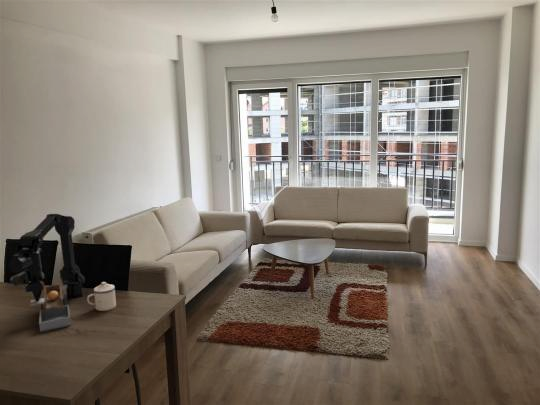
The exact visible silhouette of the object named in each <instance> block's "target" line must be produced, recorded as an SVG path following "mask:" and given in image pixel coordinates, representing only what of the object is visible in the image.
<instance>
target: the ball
mask: <svg viewBox="0 0 540 405" xmlns="http://www.w3.org/2000/svg"><path fill="white" fill-rule="evenodd" d="M48 298H49V299H50V300H55V299H57V298H58V292H56V291H51V292H49V294H48Z"/></svg>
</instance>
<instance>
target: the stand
mask: <svg viewBox="0 0 540 405" xmlns="http://www.w3.org/2000/svg"><path fill="white" fill-rule="evenodd" d="M63 296H64V303H65V305H68V297H67V293H66V294H64V295H63ZM65 305H64V306H65ZM40 306H41V308H40V309H41V310H45V306H44V303H43V304H40Z"/></svg>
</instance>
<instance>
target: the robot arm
mask: <svg viewBox="0 0 540 405" xmlns="http://www.w3.org/2000/svg"><path fill="white" fill-rule="evenodd" d="M75 222H76V221H75V219H74V217H73V216H71V215H67V216H66V215H62V214H59V213H49V214H46V217H45V218H44V219H43V220H42V221H41V222H40V223H39V224H38V225H37V226H36V227H35V228H34V229H33V230H32V231H28V232H25V233H24V234H23V235H21V237H20V238H19V240H18V242H17V245H16V246H17V247H16V249H15V252H14V255H12V259H10V260H9V263H8V267H9V269H10V270H11V272H13V273H17V274H15V275H12V276H11V277H10V279H9V281H10V282H11V284H12V285H13V287H17V286H18V285H20V284H23V283H24V282H25V283H26V284H25V293H29V292H30V293H31V292H32V295H33V298H34V300H36V301H39V299H41V296H42V292H43V290H44V287H45V286H44V285H45V282H44V281H42V280H43V279H45V273H44V272H43V271H42V269H43V268H42V266H43V265H42V260H41V254H40V253H42V252H43V251H44V250H43V249H42V248H40V247H41V246H42V245H43V244H44V238H45V237H46V235H47V234H48V233H49V232H50V231H51V230H52V229H53V228H54V230H55V232H56V233H57V234H58V235H59V238H60V246H61V256H62V263H63V266H62V268H61V269H60V270H59V276H60V277H59V278H60V280H61V284H62V285H63V286H65V285H66V286H65V293H66V296H67V300H69V299H74V298H80V297H83V296H84V293H83V286H82V285H83V284H85V282H86V276H84V275H83V274H82V272H81V269H80V267H79V266H78V265H77V264H76V260H75V253H74V252H75V251H74V243H73V236H72V234H73V232H74V230H75V224H76V223H75Z"/></svg>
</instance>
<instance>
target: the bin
mask: <svg viewBox="0 0 540 405" xmlns="http://www.w3.org/2000/svg"><path fill="white" fill-rule="evenodd" d="M70 312H71V311H70V305H69V304H67V305H63V307H61V308H55V309H50V310H45V309H44V310H42V309H41V310H39V317H38V318H39V320H38V324H39V333H43V332H48V331H51V330H52V331H53V330H58V329H63V328H68V327H71V326H72V321H71V313H70Z"/></svg>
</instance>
